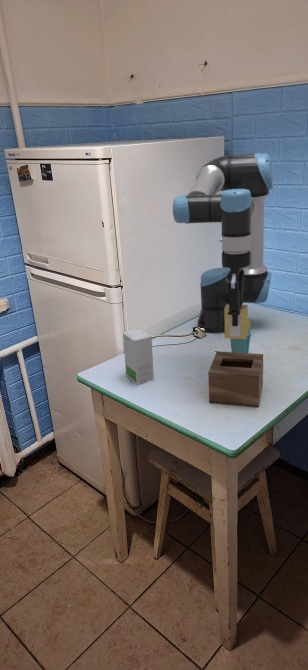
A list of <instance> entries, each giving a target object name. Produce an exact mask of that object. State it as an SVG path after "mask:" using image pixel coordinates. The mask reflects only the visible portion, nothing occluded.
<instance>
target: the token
mask: <svg viewBox="0 0 308 670" xmlns="http://www.w3.org/2000/svg"><path fill="white" fill-rule="evenodd" d="M248 308H249V305H248V304H242V305H240V314H241V336H240V337H239V336H230V315H228V314H227V313H228V312H229V305H226V306H225V308H224V311H225V332H224V339H230V338H231V339H247V336H248V319H249V312H248V311H249V309H248Z"/></svg>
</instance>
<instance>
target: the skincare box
mask: <svg viewBox="0 0 308 670" xmlns="http://www.w3.org/2000/svg"><path fill="white" fill-rule="evenodd" d="M122 337H123V338H122V339H123V352H124V364H125V376H126V377H127V378H129V379H131V380H132V381H133V382H134V384H136V385H140V384H143V383H146V382H149V381H152V380H154V358H153V357H154V356H153V337H152V335H150V334H149V333H147V331H144V330H143V329H142V328H139V327H138V328H135V329H131V330H128V331H123V332H122Z"/></svg>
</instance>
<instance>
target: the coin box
mask: <svg viewBox="0 0 308 670" xmlns="http://www.w3.org/2000/svg"><path fill="white" fill-rule="evenodd" d="M207 372H208V375H207V376H208V401H209V404H217V405H218V404H219V405H227V406H228V405H229V406H238V407H239V406H240V407H251V408H260V402H261V396H262V389H263V386H264V385H263V383H264V381H263V380H264V353H252V352H250V353H249V352H248V353H236V352H232V351H231V352H230V351H216V352H215V355H214V357H213V360H212V363H211V364H210V367H209V370H208V371H207Z"/></svg>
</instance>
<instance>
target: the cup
mask: <svg viewBox="0 0 308 670" xmlns="http://www.w3.org/2000/svg"><path fill="white" fill-rule="evenodd" d="M251 326H252V324H251V320H250V318H248V336H247V339H231V338H229V339H230V349H231V350H230V351H231V352H236V353H249V352H250V342H251V337H252V331H251Z"/></svg>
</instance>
